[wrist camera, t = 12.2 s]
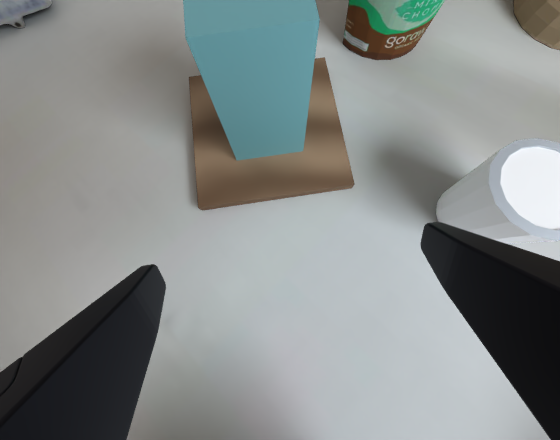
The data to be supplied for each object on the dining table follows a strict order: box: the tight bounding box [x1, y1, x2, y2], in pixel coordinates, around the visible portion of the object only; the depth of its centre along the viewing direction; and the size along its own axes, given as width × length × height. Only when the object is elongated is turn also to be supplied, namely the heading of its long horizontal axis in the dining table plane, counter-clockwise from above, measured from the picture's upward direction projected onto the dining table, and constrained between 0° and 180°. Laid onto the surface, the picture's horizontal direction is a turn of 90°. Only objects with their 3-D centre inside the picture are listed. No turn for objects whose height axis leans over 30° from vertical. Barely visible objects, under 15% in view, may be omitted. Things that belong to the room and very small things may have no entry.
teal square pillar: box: [183, 0, 320, 161], centre depth 18 cm, size 6×6×12 cm
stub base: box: [189, 57, 354, 210], centre depth 23 cm, size 14×14×4 cm
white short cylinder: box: [436, 138, 560, 244], centre depth 19 cm, size 7×7×7 cm
